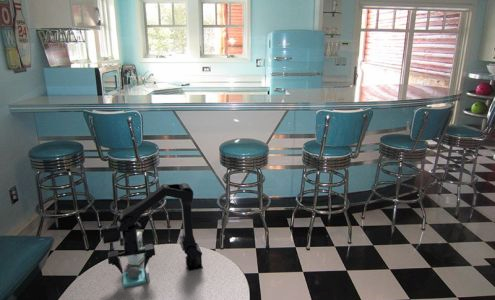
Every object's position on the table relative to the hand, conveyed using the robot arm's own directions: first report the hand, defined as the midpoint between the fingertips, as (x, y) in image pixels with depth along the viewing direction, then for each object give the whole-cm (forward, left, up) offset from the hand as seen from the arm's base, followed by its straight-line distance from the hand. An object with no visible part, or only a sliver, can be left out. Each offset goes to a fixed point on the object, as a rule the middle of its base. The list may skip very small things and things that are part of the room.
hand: (133, 270), depth 149 cm
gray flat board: (-5, -1, -4) cm, 7 cm away
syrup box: (-1, -13, -4) cm, 14 cm away
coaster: (0, 0, -4) cm, 4 cm away
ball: (0, 0, -4) cm, 4 cm away
